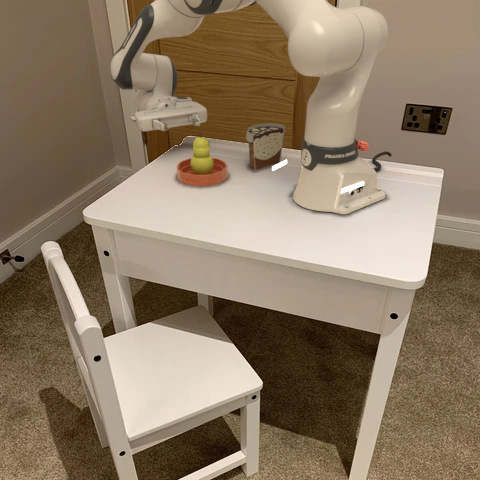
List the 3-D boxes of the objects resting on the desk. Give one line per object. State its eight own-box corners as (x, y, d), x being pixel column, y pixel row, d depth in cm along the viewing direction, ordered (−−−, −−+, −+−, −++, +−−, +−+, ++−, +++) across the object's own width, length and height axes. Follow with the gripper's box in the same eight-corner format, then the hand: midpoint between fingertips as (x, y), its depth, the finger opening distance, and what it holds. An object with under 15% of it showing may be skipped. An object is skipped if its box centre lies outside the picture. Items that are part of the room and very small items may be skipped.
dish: (214, 164, 136) (214, 153, 134) (235, 181, 127) (235, 169, 125) (170, 173, 132) (169, 162, 130) (189, 190, 123) (188, 179, 121)
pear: (208, 170, 132) (206, 127, 125) (217, 178, 128) (216, 133, 121) (187, 174, 130) (184, 130, 123) (196, 182, 126) (194, 137, 119)
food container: (269, 155, 142) (270, 119, 135) (284, 162, 138) (286, 125, 132) (236, 166, 135) (236, 128, 129) (250, 172, 132) (251, 134, 125)
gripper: (126, 105, 136) (143, 118, 126) (194, 96, 143) (215, 108, 134) (130, 128, 140) (145, 143, 130) (196, 118, 147) (215, 131, 138)
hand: (181, 125), depth 132 cm, fingers open, 8 cm apart
